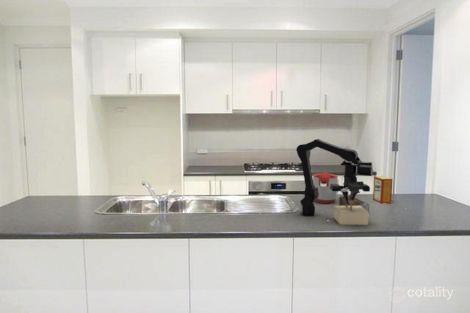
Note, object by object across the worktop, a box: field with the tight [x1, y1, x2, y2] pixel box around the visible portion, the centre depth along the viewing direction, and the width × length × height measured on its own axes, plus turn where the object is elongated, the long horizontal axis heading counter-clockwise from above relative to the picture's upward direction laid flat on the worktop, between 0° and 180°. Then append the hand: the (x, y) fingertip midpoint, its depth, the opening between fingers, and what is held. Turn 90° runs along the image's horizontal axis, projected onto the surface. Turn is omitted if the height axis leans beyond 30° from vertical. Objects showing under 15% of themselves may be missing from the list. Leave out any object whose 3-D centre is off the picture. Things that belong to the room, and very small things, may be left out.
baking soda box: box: [372, 175, 393, 205], centre depth 196 cm, size 10×6×16 cm
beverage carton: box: [338, 195, 370, 213], centre depth 179 cm, size 8×19×7 cm, turn 12°
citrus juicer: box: [312, 170, 339, 204], centre depth 196 cm, size 16×17×20 cm
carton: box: [333, 206, 370, 226], centre depth 159 cm, size 14×11×7 cm
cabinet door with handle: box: [333, 198, 354, 213], centre depth 158 cm, size 7×11×6 cm, turn 178°
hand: (348, 203), depth 158 cm, fingers closed on cabinet door with handle, 2 cm apart
